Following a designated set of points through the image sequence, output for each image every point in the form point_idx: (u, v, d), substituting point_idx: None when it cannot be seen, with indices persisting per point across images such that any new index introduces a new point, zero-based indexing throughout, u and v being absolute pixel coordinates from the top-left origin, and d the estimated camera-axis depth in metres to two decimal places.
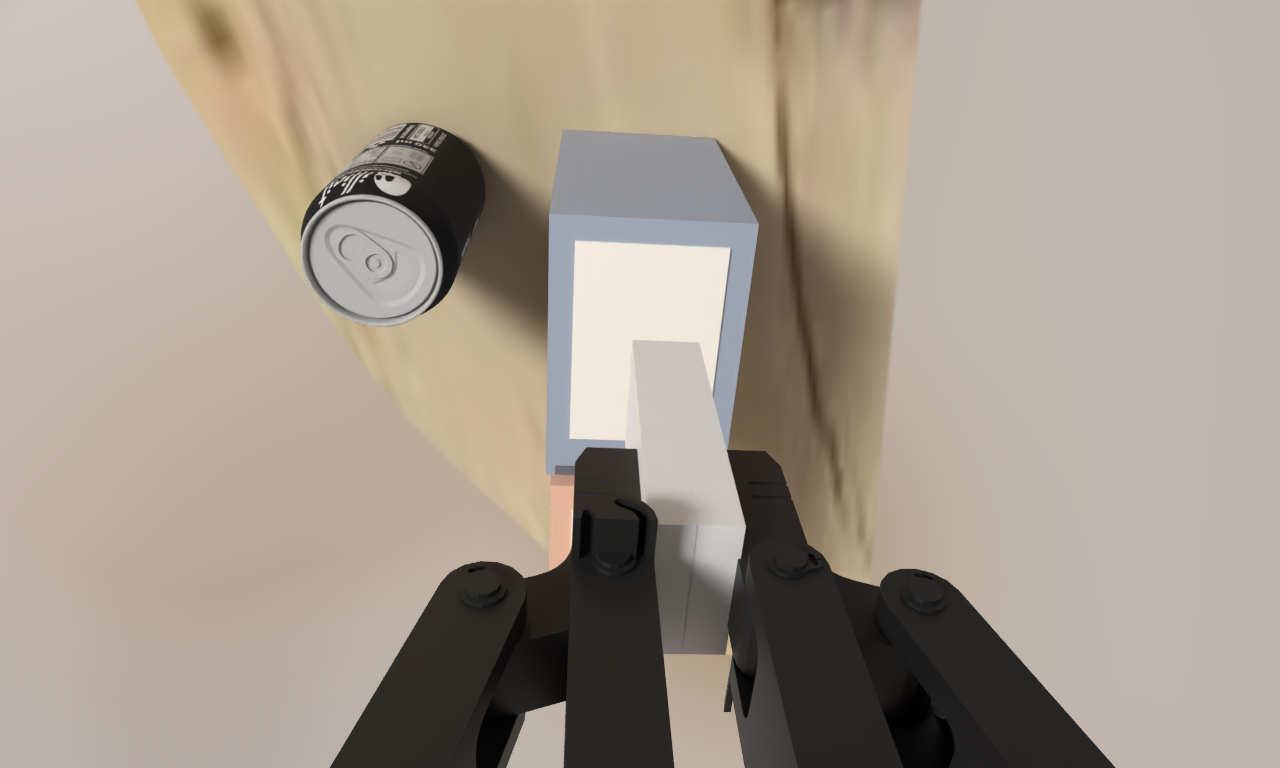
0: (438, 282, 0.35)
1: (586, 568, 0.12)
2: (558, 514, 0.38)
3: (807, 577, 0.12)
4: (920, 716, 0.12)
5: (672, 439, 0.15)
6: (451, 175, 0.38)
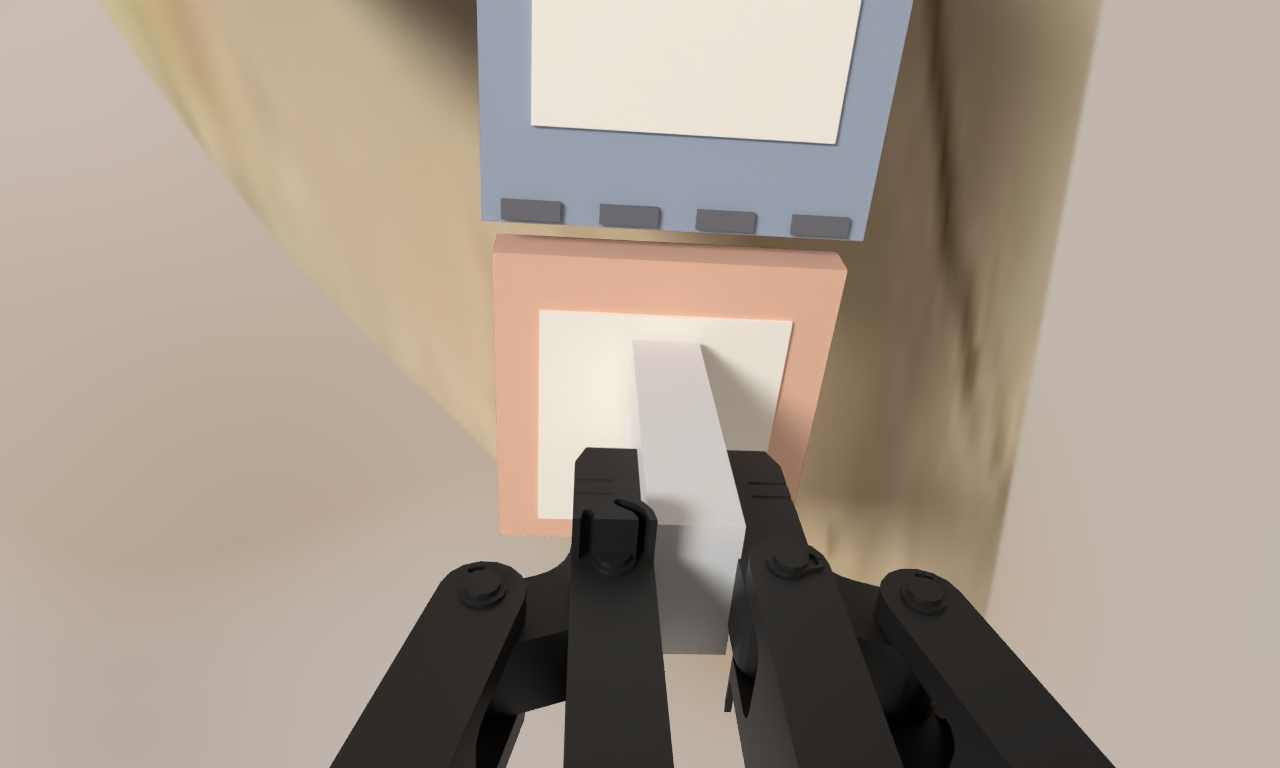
0: None
1: (586, 568, 0.12)
2: (511, 321, 0.18)
3: (807, 577, 0.12)
4: (920, 716, 0.12)
5: (672, 439, 0.15)
6: None
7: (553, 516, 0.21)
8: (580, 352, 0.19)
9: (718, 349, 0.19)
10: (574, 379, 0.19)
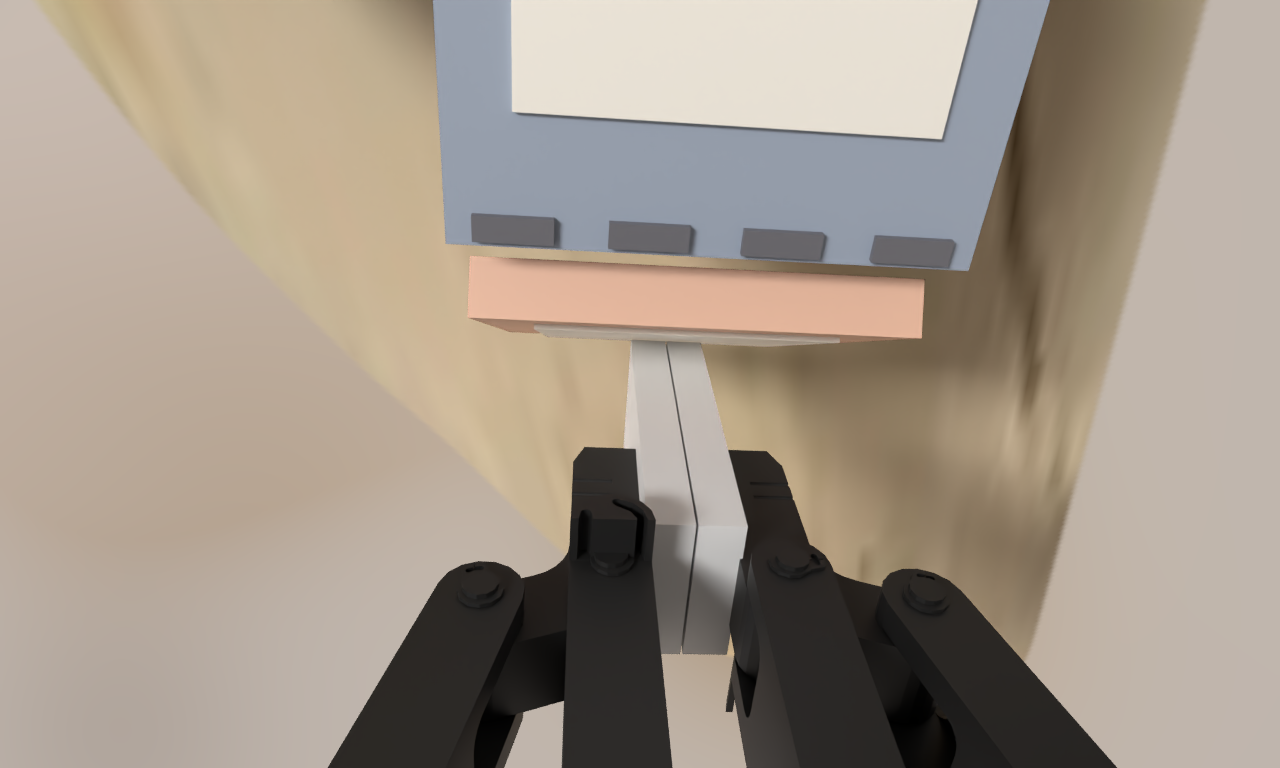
0: None
1: (584, 568, 0.12)
2: (501, 322, 0.15)
3: (809, 577, 0.12)
4: (922, 716, 0.12)
5: (674, 439, 0.15)
6: None
7: None
8: None
9: (747, 340, 0.16)
10: (579, 333, 0.17)
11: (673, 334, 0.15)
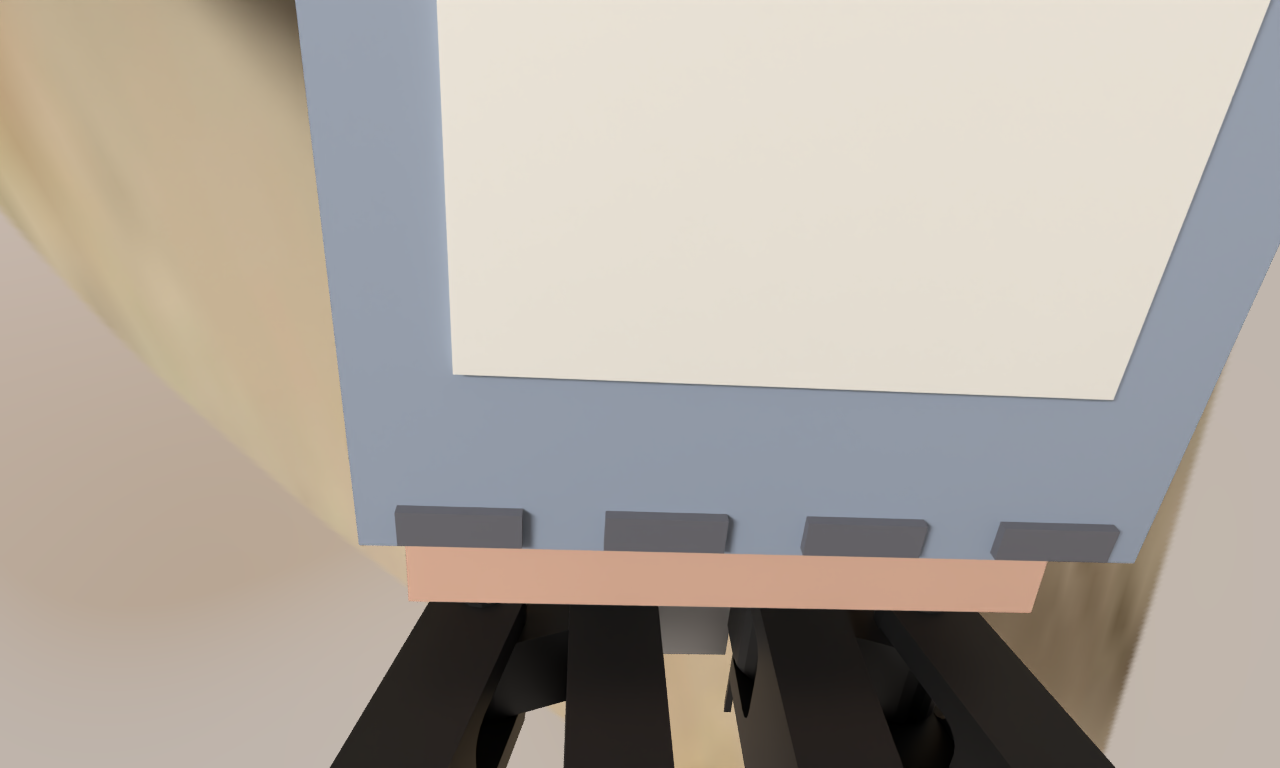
0: None
1: None
2: None
3: None
4: (920, 716, 0.12)
5: None
6: None
7: None
8: None
9: None
10: None
11: None
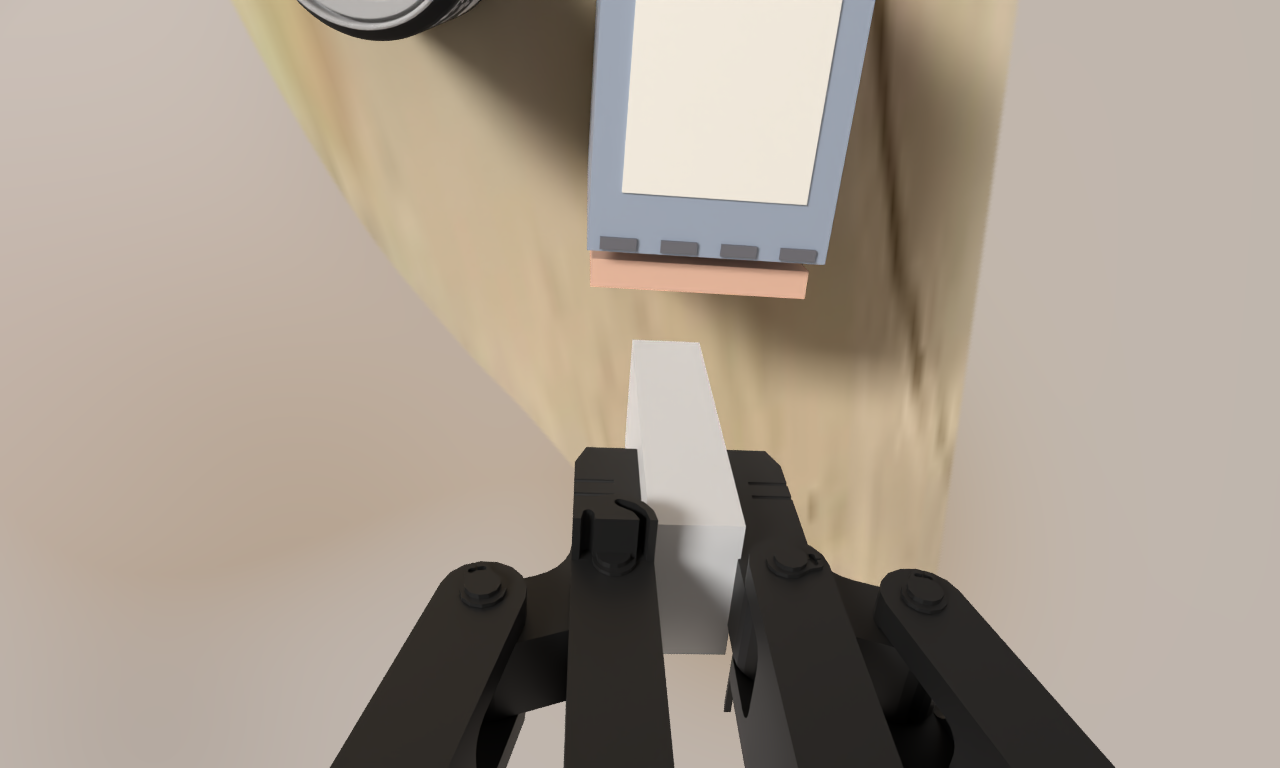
0: None
1: (586, 568, 0.12)
2: None
3: (807, 577, 0.12)
4: (920, 716, 0.12)
5: (672, 439, 0.15)
6: None
7: None
8: None
9: None
10: None
11: None
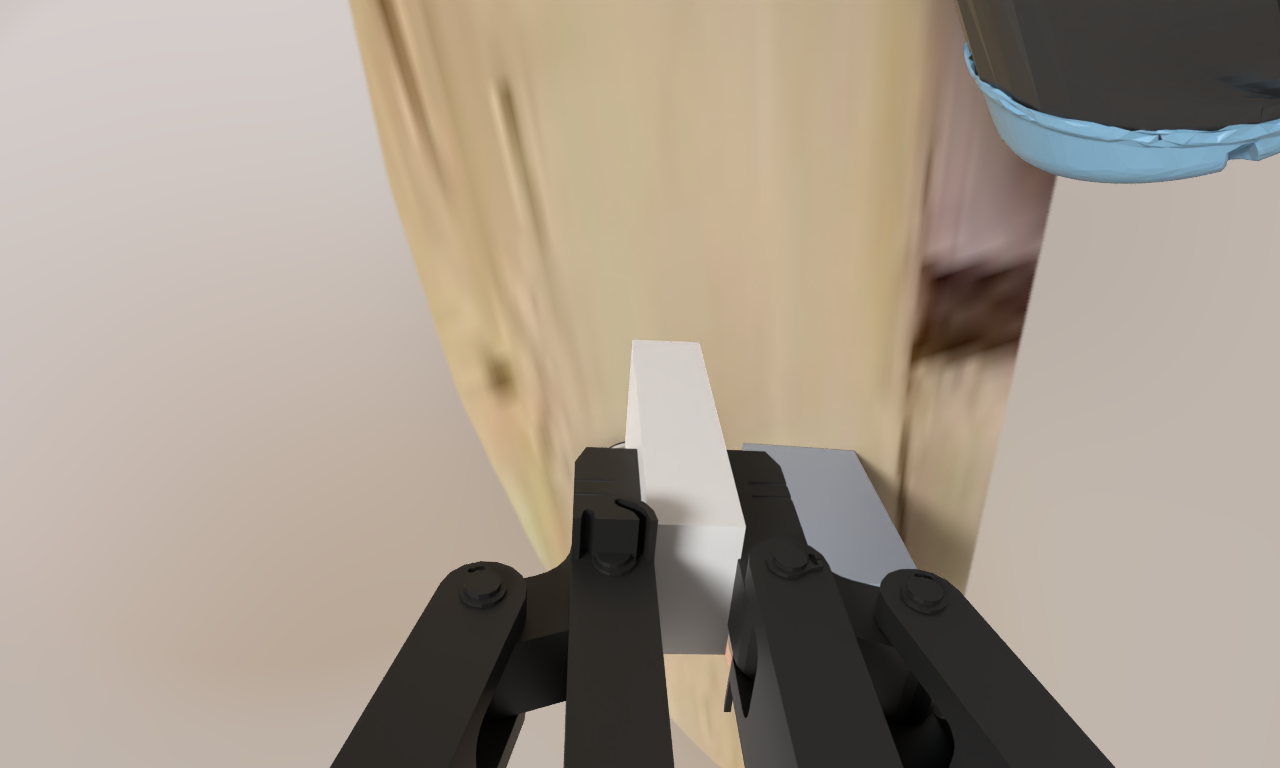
0: None
1: (586, 568, 0.12)
2: None
3: (807, 577, 0.12)
4: (920, 716, 0.12)
5: (672, 439, 0.15)
6: None
7: None
8: None
9: None
10: None
11: None
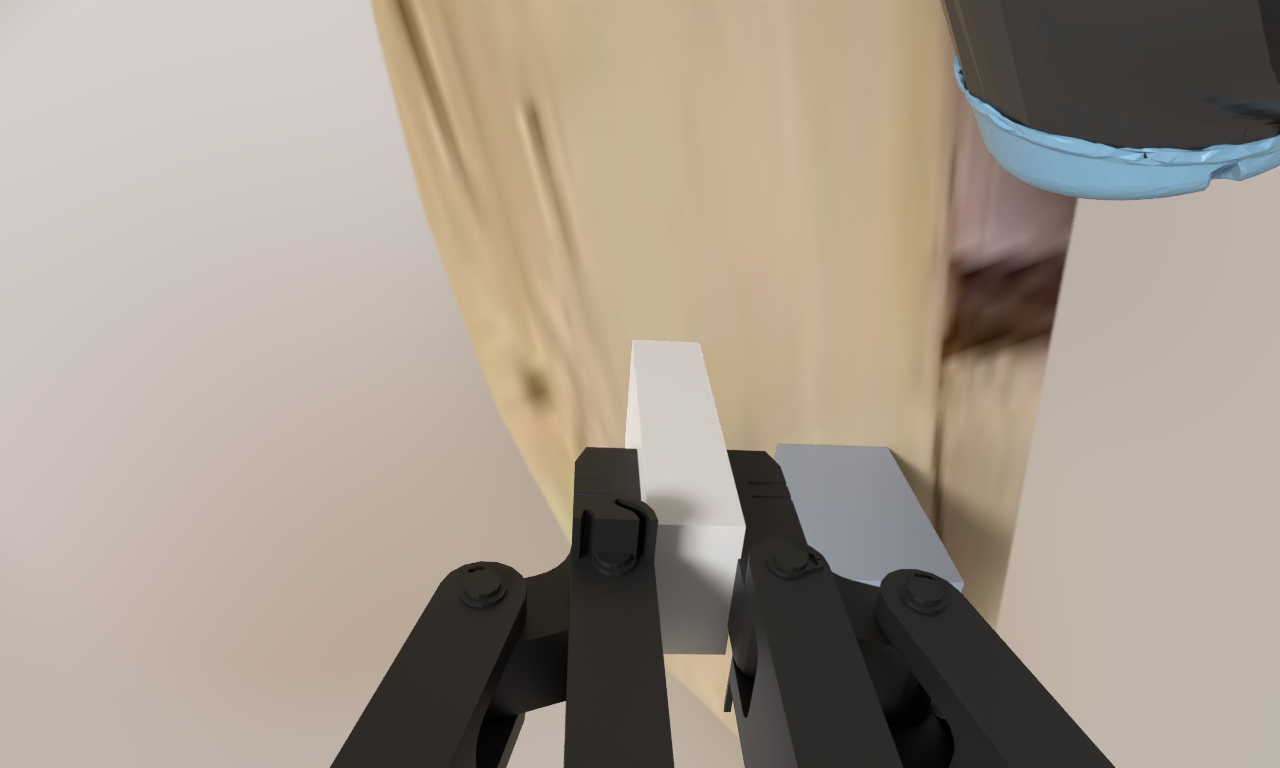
0: None
1: (586, 568, 0.12)
2: None
3: (807, 577, 0.12)
4: (920, 716, 0.12)
5: (672, 439, 0.15)
6: None
7: None
8: None
9: None
10: None
11: None
